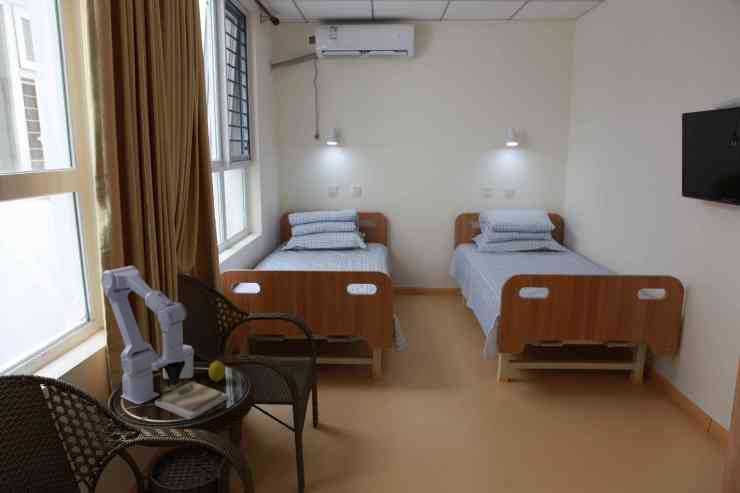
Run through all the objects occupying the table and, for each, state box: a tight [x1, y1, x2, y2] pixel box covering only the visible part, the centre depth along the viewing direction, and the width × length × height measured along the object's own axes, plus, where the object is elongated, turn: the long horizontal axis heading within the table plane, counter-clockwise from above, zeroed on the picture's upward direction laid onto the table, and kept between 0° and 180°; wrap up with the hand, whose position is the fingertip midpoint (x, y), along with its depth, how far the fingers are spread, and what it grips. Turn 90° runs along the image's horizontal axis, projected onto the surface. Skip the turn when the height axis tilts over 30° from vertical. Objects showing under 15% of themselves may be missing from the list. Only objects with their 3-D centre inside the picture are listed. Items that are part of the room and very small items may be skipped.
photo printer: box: [162, 344, 194, 380], centre depth 182 cm, size 10×4×12 cm, turn 103°
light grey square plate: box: [154, 380, 229, 420], centre depth 166 cm, size 16×16×2 cm
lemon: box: [208, 360, 226, 383], centre depth 180 cm, size 6×6×8 cm
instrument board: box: [160, 381, 223, 411], centre depth 166 cm, size 14×13×3 cm
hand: (174, 383), depth 158 cm, fingers closed
